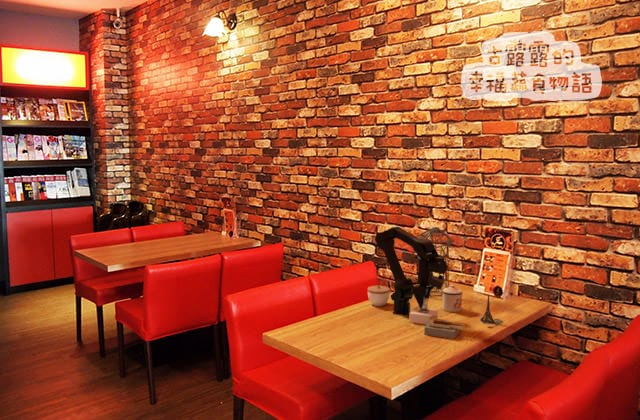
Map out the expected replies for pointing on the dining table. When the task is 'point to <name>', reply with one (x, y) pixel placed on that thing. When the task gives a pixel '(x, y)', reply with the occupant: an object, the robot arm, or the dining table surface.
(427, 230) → the geometric lantern
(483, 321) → the eiffel tower figurine
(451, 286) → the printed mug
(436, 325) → the brass guide bars
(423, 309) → the steel pin
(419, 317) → the square hole block
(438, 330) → the socket block
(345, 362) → the dining table surface
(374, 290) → the lidded jar
